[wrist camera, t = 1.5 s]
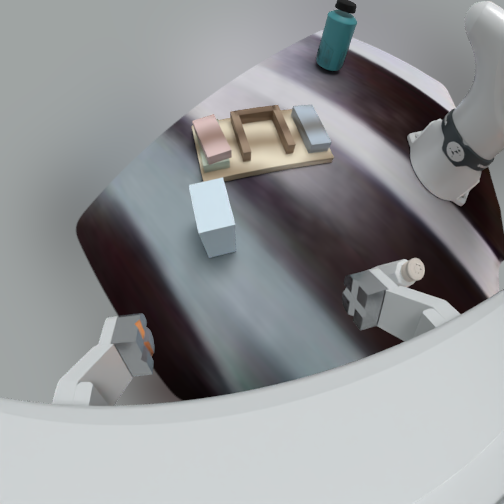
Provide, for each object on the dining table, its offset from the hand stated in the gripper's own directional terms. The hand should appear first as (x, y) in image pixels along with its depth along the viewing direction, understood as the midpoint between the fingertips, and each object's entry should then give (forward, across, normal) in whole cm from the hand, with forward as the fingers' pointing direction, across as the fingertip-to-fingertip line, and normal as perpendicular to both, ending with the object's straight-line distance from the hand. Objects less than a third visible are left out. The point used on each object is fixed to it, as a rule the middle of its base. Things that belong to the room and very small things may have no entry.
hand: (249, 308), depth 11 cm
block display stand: (+39, -10, -2) cm, 41 cm away
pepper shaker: (+20, -23, +18) cm, 36 cm away
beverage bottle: (+54, -31, -19) cm, 65 cm away
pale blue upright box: (+29, 0, +10) cm, 31 cm away
